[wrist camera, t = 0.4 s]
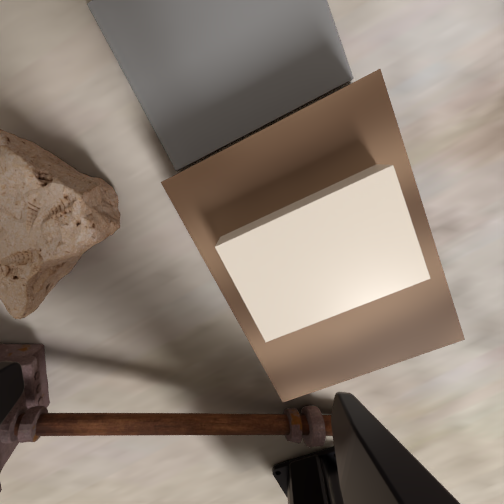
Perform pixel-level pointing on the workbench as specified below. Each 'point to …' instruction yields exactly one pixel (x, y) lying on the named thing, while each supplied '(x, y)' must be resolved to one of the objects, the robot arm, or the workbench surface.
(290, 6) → the mat
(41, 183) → the stone
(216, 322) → the workbench surface
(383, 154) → the plate
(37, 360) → the hammer
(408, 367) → the workbench surface
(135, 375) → the workbench surface
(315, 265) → the cream rectangular block
